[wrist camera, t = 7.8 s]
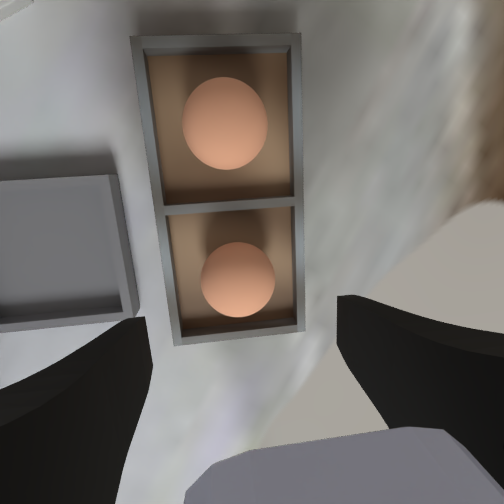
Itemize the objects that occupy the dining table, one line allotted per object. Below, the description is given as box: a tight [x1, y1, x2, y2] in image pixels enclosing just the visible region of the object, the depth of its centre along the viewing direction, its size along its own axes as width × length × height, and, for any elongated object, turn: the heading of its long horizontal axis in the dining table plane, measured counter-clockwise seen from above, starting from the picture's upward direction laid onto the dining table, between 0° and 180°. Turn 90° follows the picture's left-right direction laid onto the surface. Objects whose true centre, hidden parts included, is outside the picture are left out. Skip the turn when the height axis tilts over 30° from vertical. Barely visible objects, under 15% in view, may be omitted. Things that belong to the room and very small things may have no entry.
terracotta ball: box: [200, 242, 275, 317], centre depth 16 cm, size 4×4×4 cm
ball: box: [182, 77, 268, 170], centre depth 14 cm, size 4×4×4 cm
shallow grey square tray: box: [0, 174, 140, 333], centre depth 17 cm, size 8×8×2 cm
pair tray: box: [130, 33, 305, 346], centre depth 17 cm, size 16×8×2 cm, turn 3°
